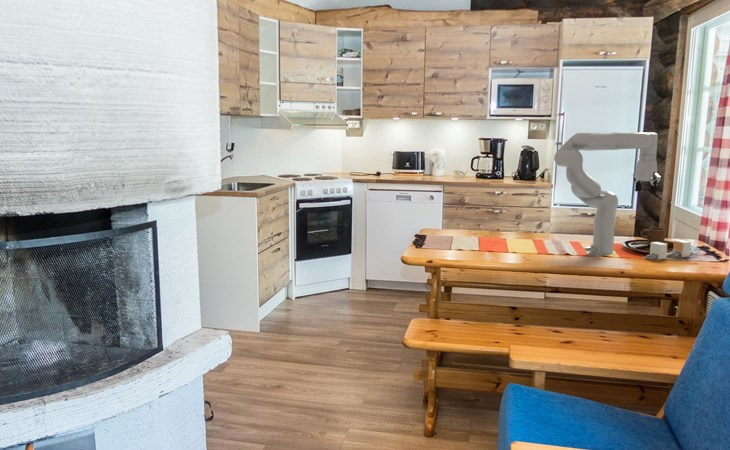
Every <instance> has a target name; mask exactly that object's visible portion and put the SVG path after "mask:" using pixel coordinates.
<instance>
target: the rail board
mask: <svg viewBox="0 0 730 450" xmlns="http://www.w3.org/2000/svg"><path fill="white" fill-rule="evenodd" d="M657 257H658V255H657V254H651V255H650V254H645V256H642V258H643V259H647V260H651V261H660V260H663V259H657ZM690 257H691V258H692V257H696V255H694V251H693V250H690V256H688V257H687V258H690ZM680 258H681V259H682V258H683V257H681V252H673V251H672V252H667V255H666V259H665V260H671V259H680Z"/></svg>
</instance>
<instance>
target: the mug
mask: <svg viewBox="0 0 730 450" xmlns="http://www.w3.org/2000/svg"><path fill="white" fill-rule="evenodd" d="M665 229H666V228H661V227H649V229H645V228H644V229H642V230H641V231H640V236H641V238H642V239H644V240H647V246H648V245H650V244H651V242H660V243H664V244H665V238H666V237H665V236H666V230H665ZM645 233H647V234H648V235H645Z"/></svg>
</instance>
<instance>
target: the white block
mask: <svg viewBox="0 0 730 450" xmlns="http://www.w3.org/2000/svg"><path fill="white" fill-rule="evenodd" d="M667 253H668V243H665V242H664V243H660V242H651V244H650V246H649V255H651V254H657V255H658V257H657V259H662V260H667V259H666V255H667Z"/></svg>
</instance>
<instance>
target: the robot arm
mask: <svg viewBox="0 0 730 450" xmlns="http://www.w3.org/2000/svg"><path fill="white" fill-rule="evenodd" d="M634 149H635V150H637V149H638V150H639V155H638V158H639V159H638V160H637V163H636V167H635V173H633V174H632V178H633V181H634V184H635V186H634V187H635V188H634V191H635V192H642V182H649V183H650V186H649V194H651V195H652V194H657V186H658V184H659V183H660V181H661V178H662V177H661V175H659V174H658V164H657V163H658V162H657V151H658V133H656V132H629V133H626V132H615V131H613V132H612V131H611V132H607V131H605V132H604V131H603V132H577V133H575V134H573V135H572V136H571V137H570V138H569V139H567V140H566V142H565V143H564V144H562V146H560V147H559V148H558V150H556V152H555V154H554V156H553V158H554V162H555V164H556V165H558V167H563V168H566V169H565V171H566V172H565V174H566V179H567V182H568V183H570V184H571V185H570V190H571V192H572V194H573V195H574V196H575V197H577V198H578V199H579V200H580V201H581V202H583V203H584V204H585V205H586V206H588V207H590V208H593V209H596V212H595V214H594V218H593V219H594V220H593V235H592V236H593V237H592V244H591V245H590V246H584V248H583V249H584V251H585V252H588V254H590V255H593V256H597V257H605V256H607V255H615V254H617V252H616V251H615V250H614V241H615V227H616V226H615V223H616V214H617V213H616V212H617V208H618V207H619V206H618V205H619V198H618V196H617V195H616V194H615V193H614V192H611V191H609V190H602V187H601V185H600V183H599V182H598V181H597V180H596V179H594V178H593V177H591V176H590V175H589V174H588V173H587V172H586V171H585V170H584V169H583V163H584V157H583V155H582V153H581V152H580V151H585V152H586V151H588V152H590V151H591V152H592V151H611V150H612V151H616V150H634Z"/></svg>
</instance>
